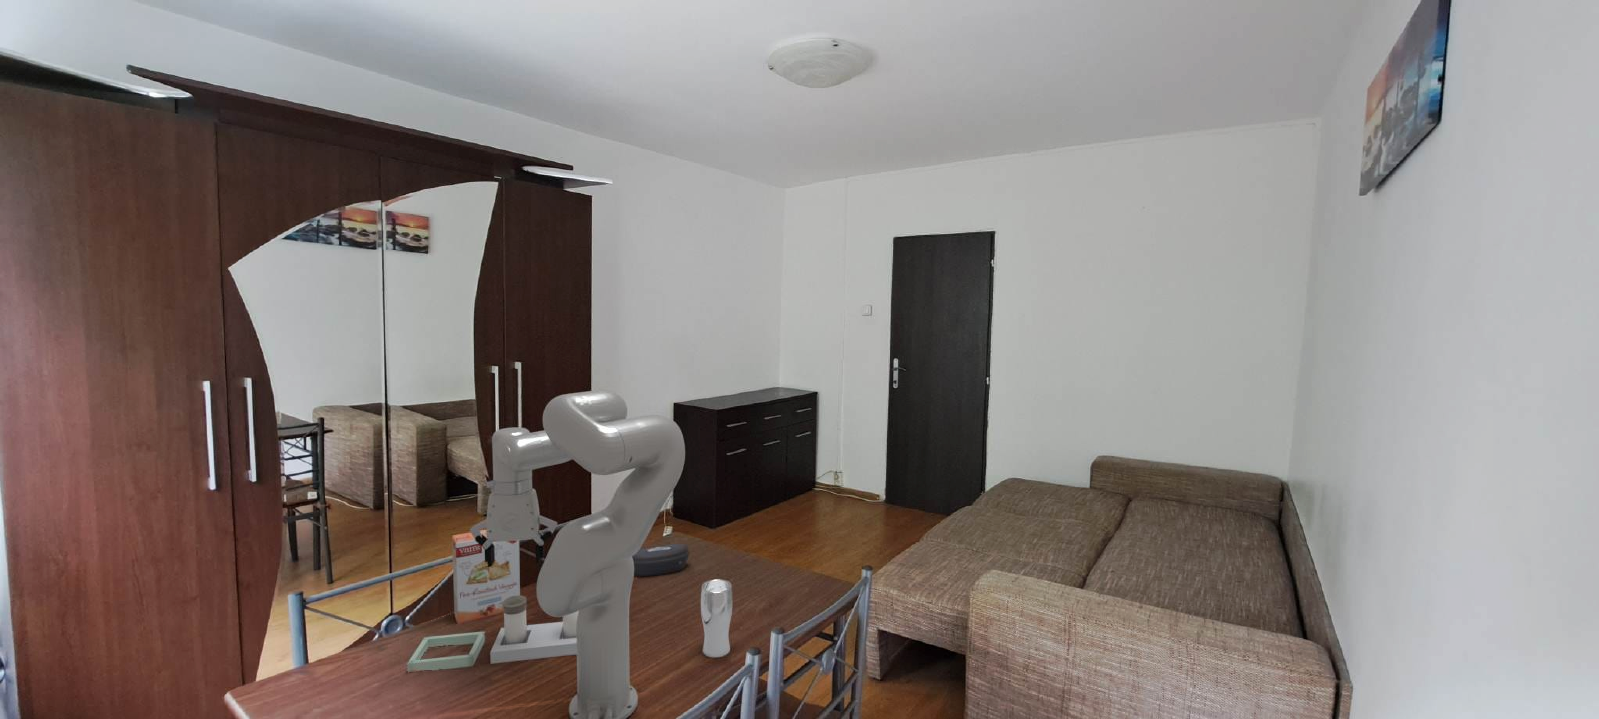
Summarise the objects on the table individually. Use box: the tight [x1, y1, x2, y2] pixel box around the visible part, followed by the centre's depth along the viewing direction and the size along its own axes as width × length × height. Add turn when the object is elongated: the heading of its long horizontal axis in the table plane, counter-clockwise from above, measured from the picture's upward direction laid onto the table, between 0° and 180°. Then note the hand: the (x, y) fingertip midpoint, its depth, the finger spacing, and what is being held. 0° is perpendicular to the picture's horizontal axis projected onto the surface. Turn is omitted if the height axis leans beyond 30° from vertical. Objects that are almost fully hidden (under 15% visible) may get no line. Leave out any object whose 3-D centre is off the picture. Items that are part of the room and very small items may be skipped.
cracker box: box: [451, 529, 521, 625], centre depth 152 cm, size 14×6×21 cm, turn 126°
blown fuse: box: [502, 595, 527, 645], centre depth 136 cm, size 5×5×11 cm
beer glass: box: [700, 578, 733, 659], centre depth 139 cm, size 7×7×15 cm
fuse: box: [562, 611, 579, 639], centre depth 139 cm, size 5×5×11 cm
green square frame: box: [406, 631, 486, 671], centre depth 134 cm, size 10×12×3 cm
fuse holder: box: [489, 621, 577, 665], centre depth 138 cm, size 10×20×4 cm, turn 104°
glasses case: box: [632, 543, 690, 577], centre depth 180 cm, size 18×10×8 cm, turn 114°
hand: (515, 562), depth 135 cm, fingers open, 9 cm apart
